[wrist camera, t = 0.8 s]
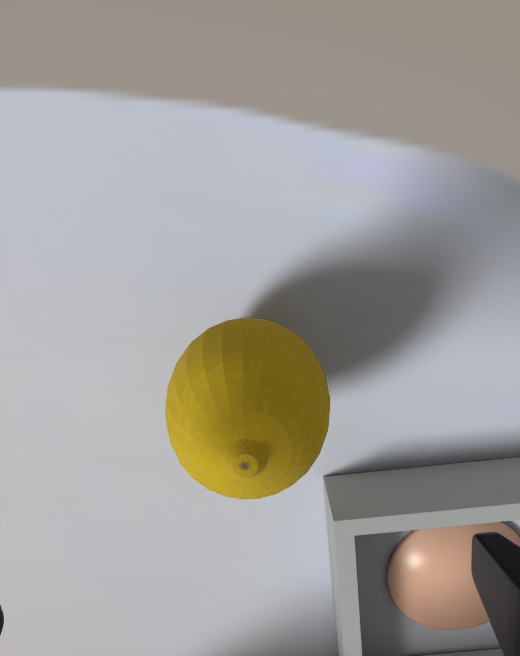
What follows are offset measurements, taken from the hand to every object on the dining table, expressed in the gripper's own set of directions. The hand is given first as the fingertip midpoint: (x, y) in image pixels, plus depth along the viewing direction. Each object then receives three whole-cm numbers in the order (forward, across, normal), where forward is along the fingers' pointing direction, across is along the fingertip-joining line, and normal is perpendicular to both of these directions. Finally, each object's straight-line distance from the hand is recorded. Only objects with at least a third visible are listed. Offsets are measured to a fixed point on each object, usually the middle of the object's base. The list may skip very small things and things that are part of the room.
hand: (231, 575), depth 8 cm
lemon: (+12, 0, 0) cm, 12 cm away
